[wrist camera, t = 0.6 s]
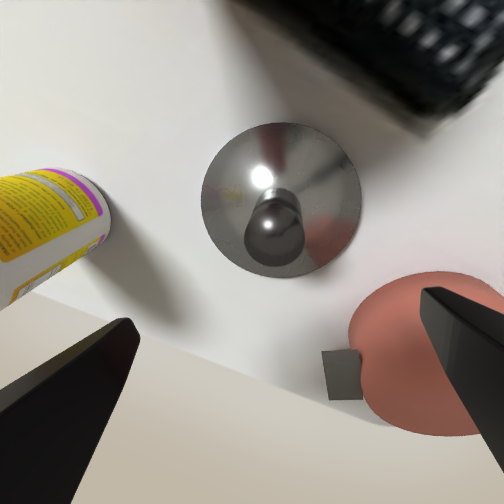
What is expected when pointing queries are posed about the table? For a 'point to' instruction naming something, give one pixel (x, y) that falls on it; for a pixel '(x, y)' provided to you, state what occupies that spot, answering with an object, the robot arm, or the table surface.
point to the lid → (281, 200)
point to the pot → (404, 357)
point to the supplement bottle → (46, 227)
